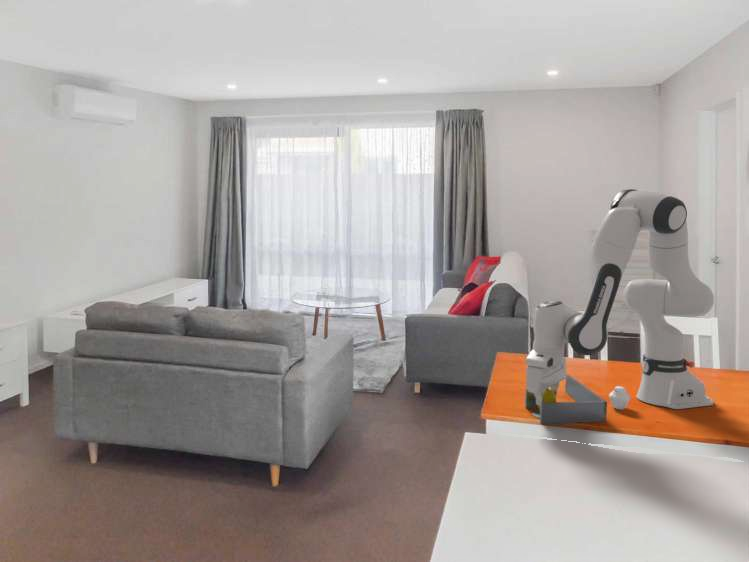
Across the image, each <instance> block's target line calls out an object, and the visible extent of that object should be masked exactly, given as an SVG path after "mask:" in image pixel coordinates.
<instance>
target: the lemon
mask: <svg viewBox="0 0 749 562" xmlns="http://www.w3.org/2000/svg"><path fill="white" fill-rule="evenodd" d="M542 398H543V399H544V401H543V402H544V403H550V402H557V398H556V396H555V394H554V393H553V392H552V391H551V389H550V388H548V389H546V390H544V391H543V394H542ZM537 409H538V410H540V409H541V405H538V408H537Z"/></svg>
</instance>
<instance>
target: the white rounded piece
mask: <svg viewBox="0 0 749 562" xmlns="http://www.w3.org/2000/svg"><path fill="white" fill-rule="evenodd" d="M608 397H609V401H610V404H611V405H612V407H613V408H614V409H615V408H616V410H625V408H626V407H627V405H628V404H629V402H630V400H631V396H630V394H629V393H628V392H627V389H626V387H624V386H620V385H617V386H615V387H614V388H613V390H612V391H611V392H610V393H609V394H608Z"/></svg>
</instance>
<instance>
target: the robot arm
mask: <svg viewBox="0 0 749 562" xmlns="http://www.w3.org/2000/svg"><path fill="white" fill-rule="evenodd" d="M687 217H688V211H687V207H686V205H685V203H684V202H683V201H682V200H680V199H679V198H677V197H674V196H671V195H670V196H669V195H665V194H662V193H658V192H656V191H645V190H638V189H632V188H630V189H628V188H627V189H623V190H620V191H619V192H618V193H617V194H616V195H615V196H614V197H613V199H612V201H611V204H610V209H609V211H608V212H607V213H606V215H605V216H604V218H603V220H602V221H601V224H600V225H599V227H598V229H597V231H596V234H595V235H594V238H593V240H592V243H591V246H590V249H589V254H588V261H587V262H588V263H587V264H588V265H589V266H588V267H589V269H590V271H591V275H592V289H591V291H590V295H589V298H588V301H587V303H586V306H585V309H584V312H583V311H579V310H576V309H574V308H571V307H570V306H568V305H566V304H565V303H564V302H563V301H561V300H548V301H544V302H542V303H539V304H538V306H537V307H536V309H535V313H534V319H533V333H534V341H533V343H532V349H531V351H530V353H529V354H528V356H527V357H526V358H525V365H526V366H527V368H526V377H525V378H526V383H525V384H526V385H525V386H526V389H527V390H528V391H529V392H532V393H534V395H535V398H536V404H537V405H541V403H544V402H543V401H544V399H543V398H542V394H543V391H544V390H546V389H550V390H551V391H552V392H553V393H554V394H555V397H556V396H558V390H559V386H560V382H561V381H564V380H566V375H567V361H566V358H565V355H564V353H565V345H566V344H569V345H570V347H571V348H572V350H573V351H575V352H576V353H577V354H580V355H581V356H592V355H596V354H598V353H599V352H601V351H602V350H603V349H604V348H605V346H606V344H607V341H608V329H607V328H608V320H609V317H610V314H611V311H612V308H613V305H614V302H615V298H616V295H617V292H618V290H619V286H620V282H621V280H622V278H623V275H624V273H625V271H626V268H627V266H628V264H629V261H630V259H631V257H632V255H633V252H634V250H635V246H636V243H637V241H638V236H639V233H640V232H641V231H644V230H645V231H647V263H648V266H649V267H650V269H651V270H652V271H654V272H655V273H656V274H659V275H661V276H662V277H664V279H655V278H639V279H632V280H630V281H629V282H628V283H627V284H626V286H625V287H624V289H623V294H622V295H623V302H624V303H625V305H626V307H627V308H628V309H629V310H631V312H633V313H634V314H635V315H636V316H637V318H638V319H639V321H640V322H641V325H642V328H643V331H644V354H643V355H642V362H641V363H642V364H641V365H642V367H641V370H642V374H641V375H642V376H641V381H640V384H639V388H638V391H637V393H636V398H637V399H638V400H639V401H641V402H644V403H647V404H651V405H654V406H658V407H666V408H669V409H672V410H673V409H674V410H683V409H691V408H699V407H707V406H708V407H709V406H714V400H713V399H712V398H711V397H710V396H708V395H707V393H706V386H705V384H704V382H703V381H702V380H700V378H698V377H697V376H696V375H694V374H693V373H692V372H691V371H690V370H688V368H691V369H692V368H694V367H695V362H694V361H693V360H690V359H688V360H687V359H685V358H684V357H683V355H684V345H685V344H684V342H685V338H684V334H683V333H682V331H681V330H680V329H679V328H677V327H675V326H674V325H672V324H670V323H668V321H667V320H666V319H665V316H666V315H668V316H676V317H677V316H678V317H686V318H691V317H701V316H706V315H707V314H708V313H709V312H710V311H711V310H712V308H713V306H714V303H715V302H714V301H715V298H714V293H713V291H712V289H711V288H710V286H708V285H707V284H705V283H704V282H702V281H701V280H700V279H699V278H698V277H697V276H696V275H695V273H694V272H693V270H692V267H691V266H690V260H689V233H688V224H687V223H688V222H687Z"/></svg>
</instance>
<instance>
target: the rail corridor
mask: <svg viewBox="0 0 749 562" xmlns="http://www.w3.org/2000/svg"><path fill="white" fill-rule="evenodd" d="M564 386H565V388H564V389H565V390H564V393H566V394H567V395H568V396H569V397H570V398H572V399H573V400H575V401H558V402H557V401H556V402H550V403H541V409H539V408H538V405H537V404H536V398H535V395H534V393H532V392H529V391H528V390H527V388H525V392H524V393H525V396H524V397H525V399H524V401H525V402H524V408H525V409H536V410H533V411H532V412H531V415H532V417H534V418H536V419H539V423H540V425H545V424H546V425H549V424H554V425H555V424H574V423H575V424H576V422H583V423H604V422H607V413H608V412H607V411H608V401H607V400H605V399H604V398H603V397H601V396H599V394H598V393H595V392H594V391H593V390H591V389H590V388H589V387H587V386H585V384H582V383H581V382H580V381H578V380H577V379H575V378H574V377H573V376H572V375H570V374H566V376H565V384H564Z"/></svg>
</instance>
